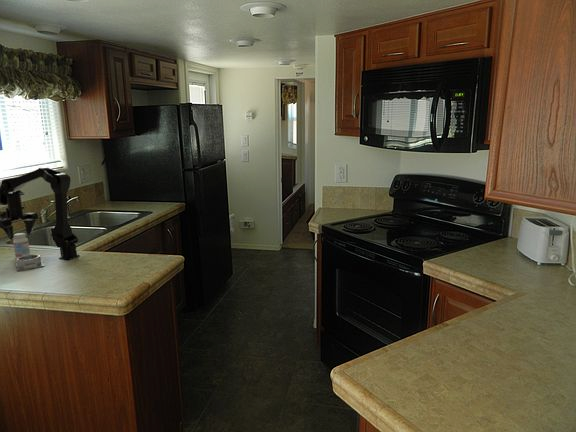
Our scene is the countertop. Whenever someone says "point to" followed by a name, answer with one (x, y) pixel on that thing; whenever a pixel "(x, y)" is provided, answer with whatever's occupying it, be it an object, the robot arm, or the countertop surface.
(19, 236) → the pill bottle
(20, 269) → the grey open tray
